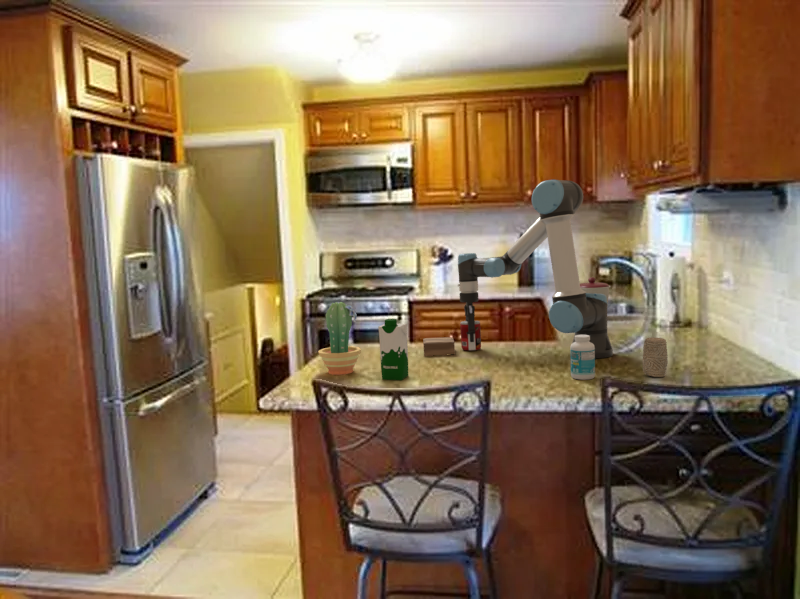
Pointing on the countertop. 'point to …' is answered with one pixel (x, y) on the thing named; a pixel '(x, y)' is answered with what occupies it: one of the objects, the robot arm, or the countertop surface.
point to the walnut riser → (438, 346)
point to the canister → (595, 287)
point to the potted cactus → (340, 340)
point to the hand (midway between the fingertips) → (471, 348)
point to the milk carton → (393, 350)
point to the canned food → (465, 336)
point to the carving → (655, 357)
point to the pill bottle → (582, 358)
